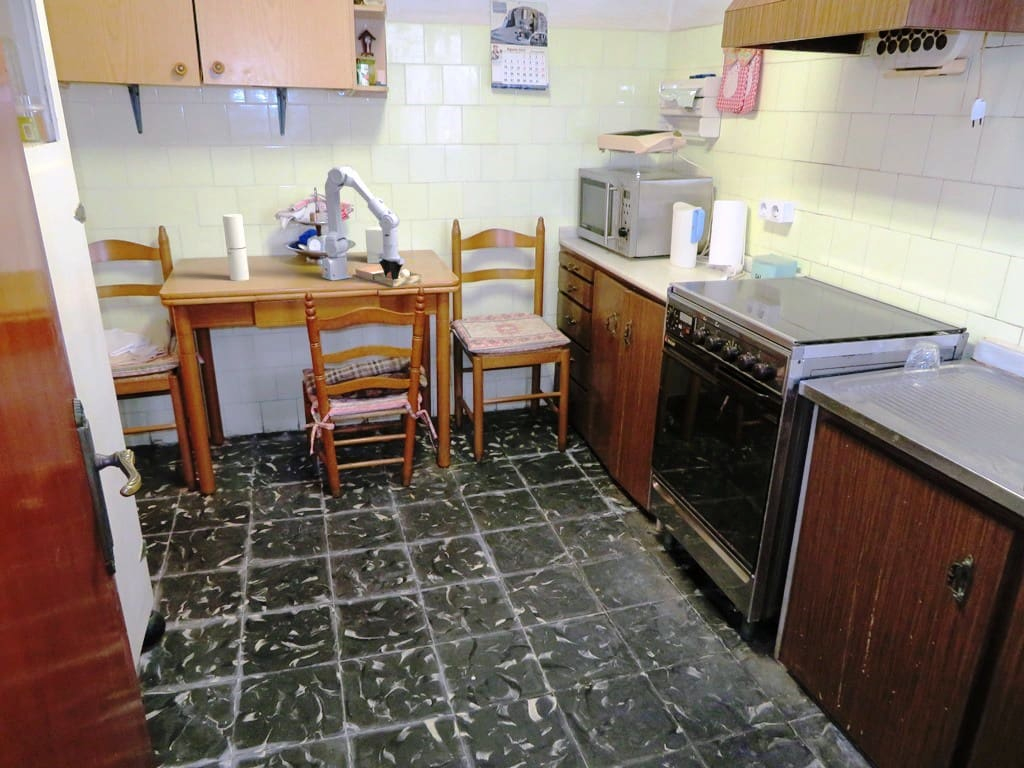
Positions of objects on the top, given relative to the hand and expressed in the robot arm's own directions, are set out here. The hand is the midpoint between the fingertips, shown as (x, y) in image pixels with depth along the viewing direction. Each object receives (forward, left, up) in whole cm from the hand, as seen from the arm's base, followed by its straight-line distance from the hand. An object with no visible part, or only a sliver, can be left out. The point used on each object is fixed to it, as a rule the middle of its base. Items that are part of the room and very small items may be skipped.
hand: (391, 279), depth 288 cm
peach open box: (+3, +13, -1) cm, 13 cm away
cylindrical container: (-42, +44, -2) cm, 61 cm away
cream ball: (+6, 0, +1) cm, 7 cm away
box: (+3, 0, -1) cm, 3 cm away
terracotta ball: (0, 0, +1) cm, 1 cm away
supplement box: (+19, +35, -2) cm, 40 cm away
